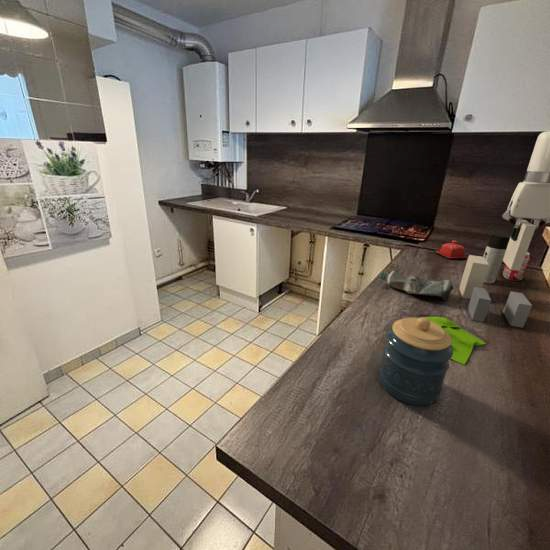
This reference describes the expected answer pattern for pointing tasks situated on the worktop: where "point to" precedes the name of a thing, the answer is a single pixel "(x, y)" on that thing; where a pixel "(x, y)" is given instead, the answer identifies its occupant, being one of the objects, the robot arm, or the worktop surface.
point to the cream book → (519, 246)
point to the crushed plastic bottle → (418, 285)
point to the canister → (415, 360)
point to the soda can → (515, 274)
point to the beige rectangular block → (473, 275)
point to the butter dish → (452, 250)
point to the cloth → (458, 339)
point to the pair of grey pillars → (513, 310)
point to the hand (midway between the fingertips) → (519, 239)
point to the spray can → (495, 255)
